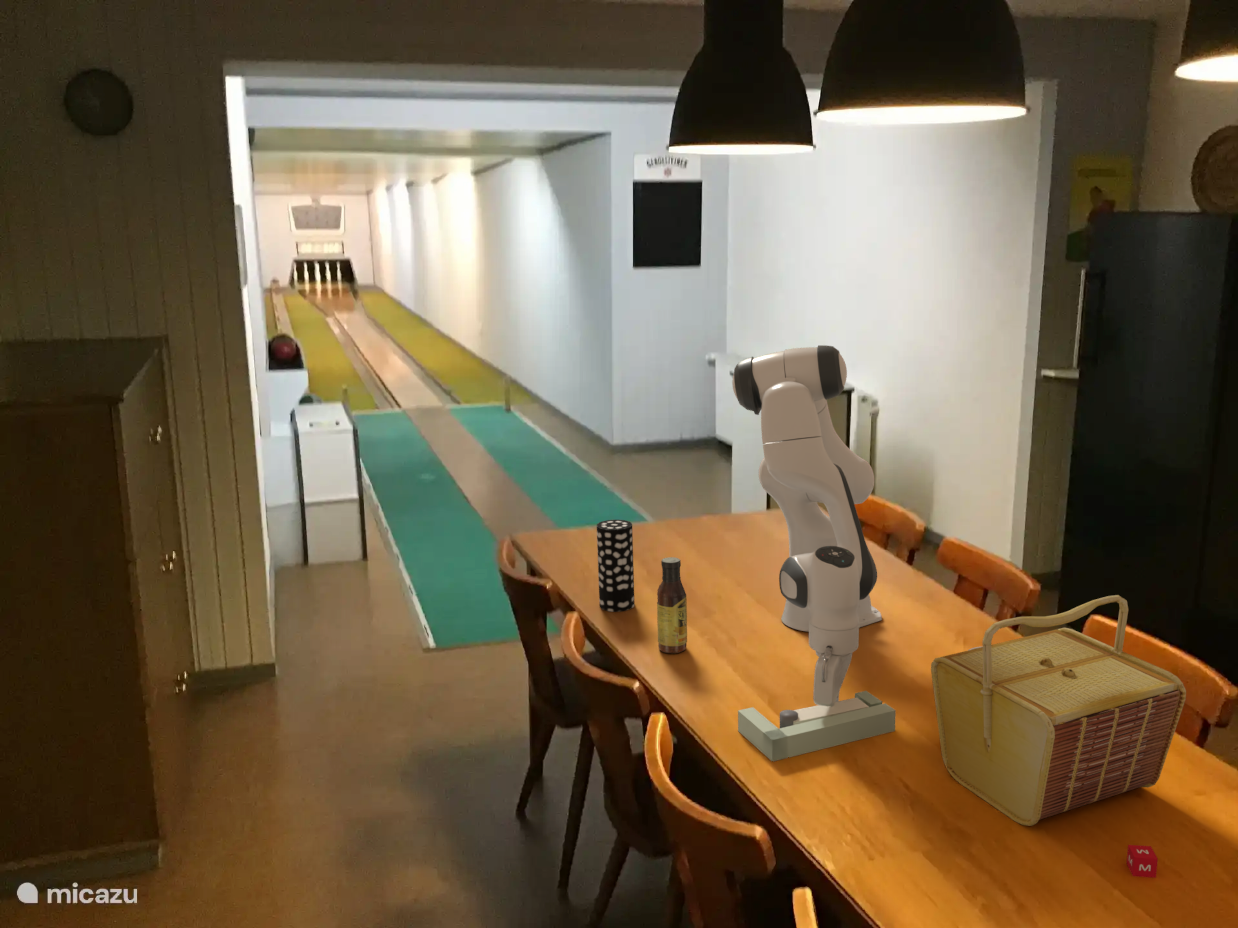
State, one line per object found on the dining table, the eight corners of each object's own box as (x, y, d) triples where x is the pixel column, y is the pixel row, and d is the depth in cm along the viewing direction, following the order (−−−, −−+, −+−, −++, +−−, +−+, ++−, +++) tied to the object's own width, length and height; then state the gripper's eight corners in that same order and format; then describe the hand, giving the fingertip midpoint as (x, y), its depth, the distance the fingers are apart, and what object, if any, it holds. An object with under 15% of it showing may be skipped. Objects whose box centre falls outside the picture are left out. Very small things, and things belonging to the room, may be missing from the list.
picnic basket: (1037, 849, 154) (1050, 656, 147) (920, 767, 177) (927, 597, 170) (1181, 800, 165) (1200, 619, 158) (1054, 729, 188) (1065, 568, 181)
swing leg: (786, 743, 186) (786, 720, 185) (775, 733, 190) (775, 710, 189) (868, 725, 191) (869, 703, 190) (856, 716, 195) (857, 694, 194)
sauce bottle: (685, 655, 223) (683, 565, 219) (655, 654, 225) (653, 564, 220) (689, 643, 230) (687, 555, 225) (660, 641, 231) (658, 554, 226)
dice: (1132, 876, 147) (1134, 857, 146) (1126, 863, 150) (1128, 844, 149) (1155, 877, 147) (1157, 858, 146) (1149, 864, 149) (1150, 845, 149)
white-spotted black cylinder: (594, 609, 251) (590, 528, 246) (607, 597, 258) (604, 518, 254) (626, 613, 248) (624, 531, 243) (639, 601, 255) (637, 521, 251)
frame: (855, 703, 200) (856, 683, 199) (894, 730, 189) (895, 710, 188) (738, 730, 191) (738, 710, 190) (772, 761, 180) (772, 739, 179)
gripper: (841, 661, 182) (840, 735, 185) (859, 618, 200) (857, 685, 204) (805, 657, 184) (804, 730, 187) (825, 614, 203) (824, 681, 206)
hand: (832, 706), depth 196 cm, fingers closed
